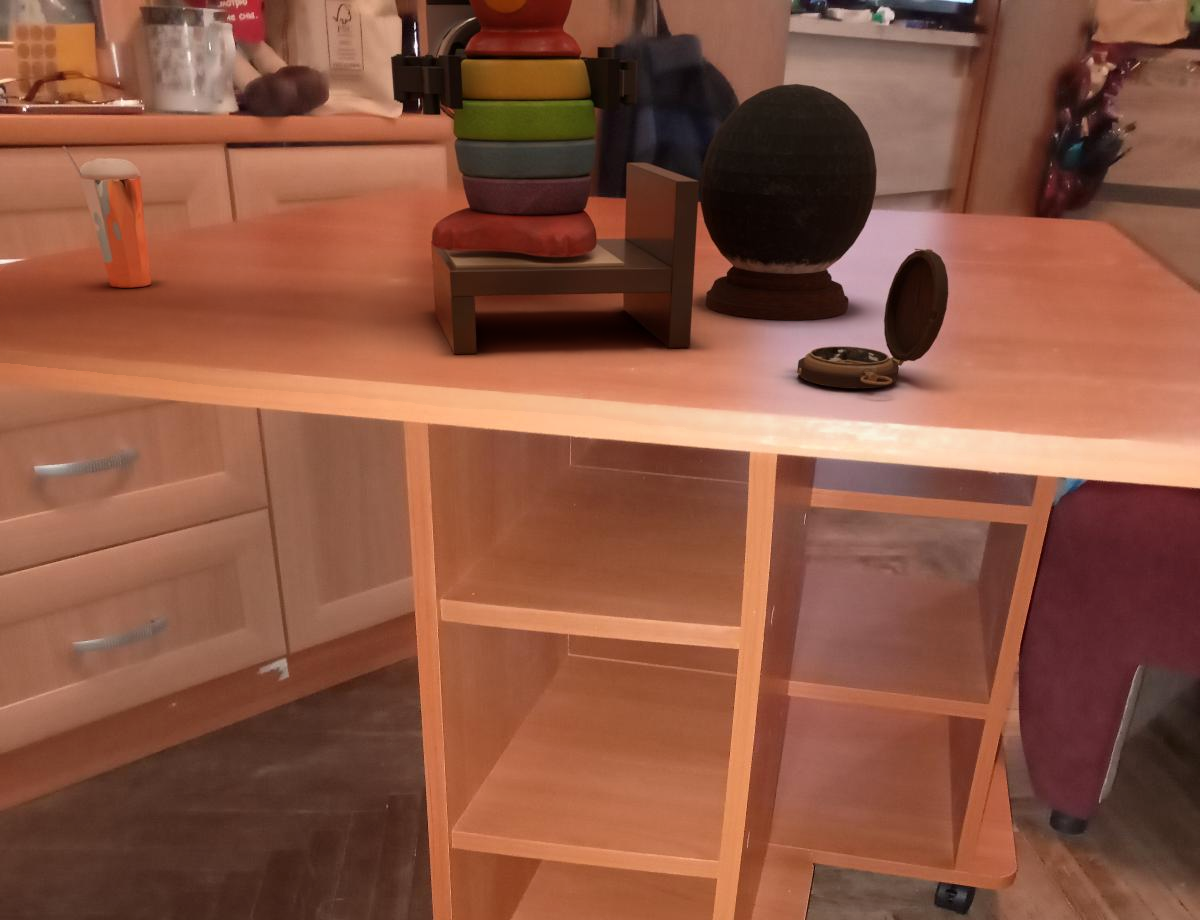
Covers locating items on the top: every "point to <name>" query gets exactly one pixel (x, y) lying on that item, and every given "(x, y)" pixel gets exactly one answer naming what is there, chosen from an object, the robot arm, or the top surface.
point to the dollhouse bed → (592, 265)
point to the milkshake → (117, 218)
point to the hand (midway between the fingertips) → (535, 83)
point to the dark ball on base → (786, 202)
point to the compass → (890, 329)
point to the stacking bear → (523, 135)
